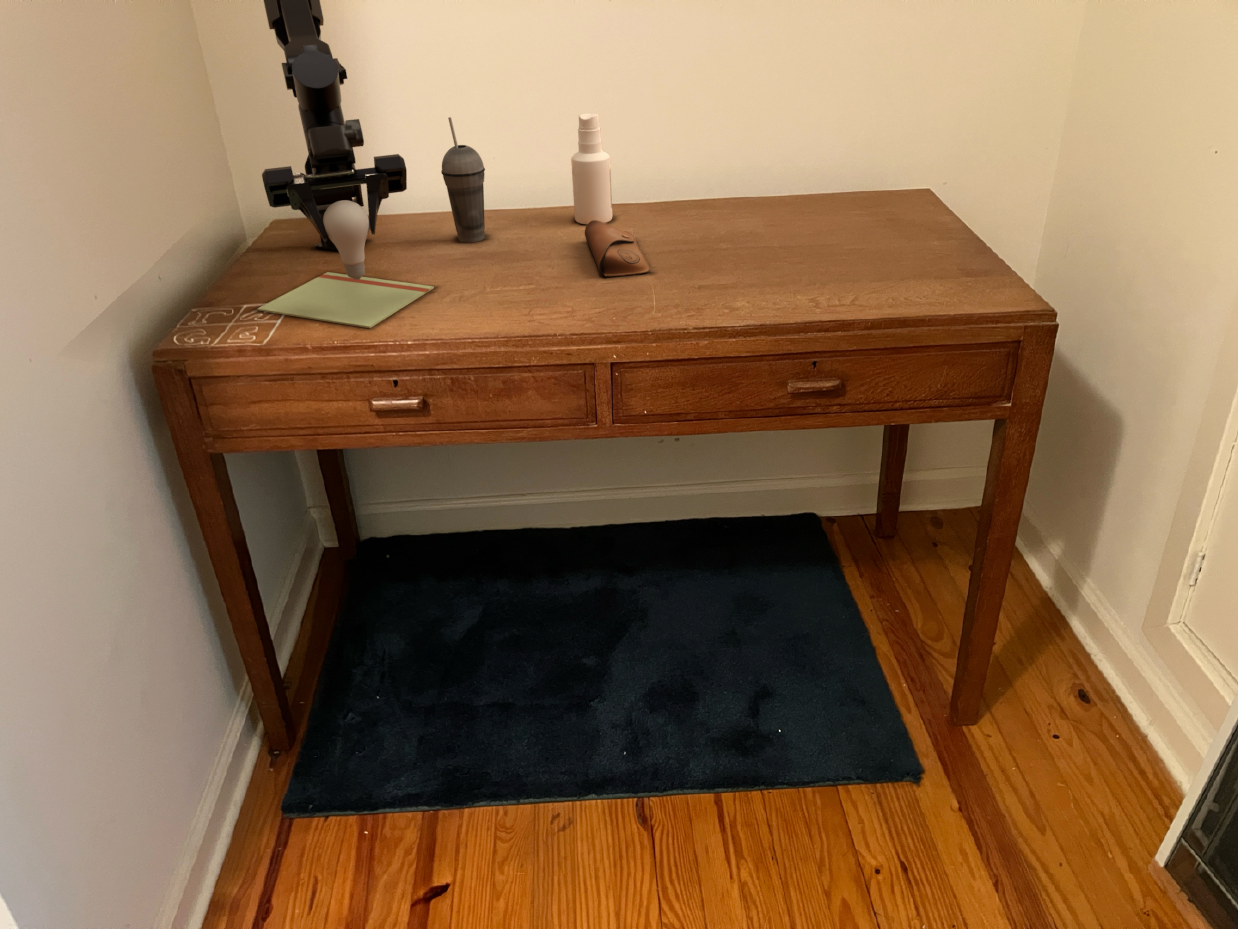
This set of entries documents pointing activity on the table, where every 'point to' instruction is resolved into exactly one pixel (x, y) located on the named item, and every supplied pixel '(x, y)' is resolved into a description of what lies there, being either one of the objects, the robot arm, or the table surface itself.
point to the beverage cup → (465, 189)
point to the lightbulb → (348, 234)
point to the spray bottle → (591, 174)
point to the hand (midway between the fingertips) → (349, 236)
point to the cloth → (346, 299)
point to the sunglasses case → (614, 250)
